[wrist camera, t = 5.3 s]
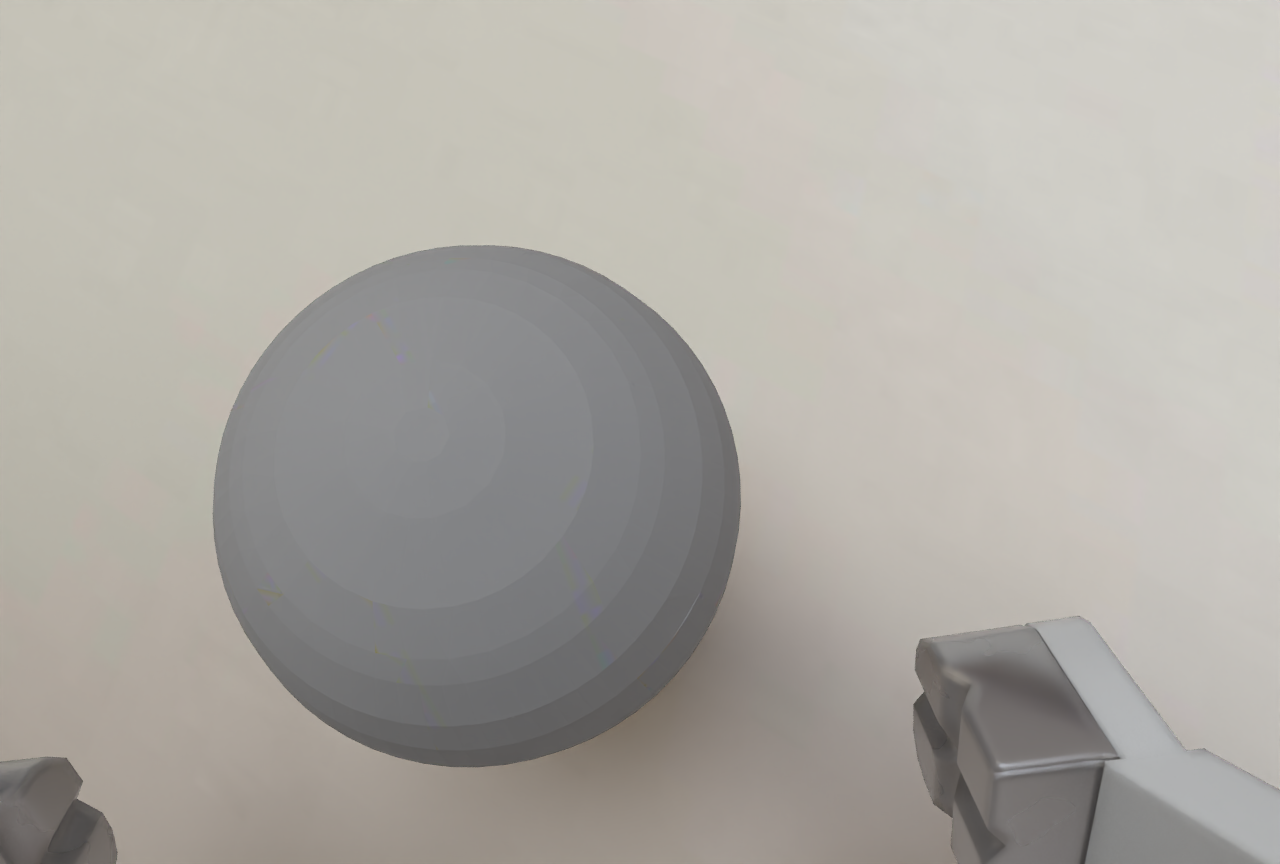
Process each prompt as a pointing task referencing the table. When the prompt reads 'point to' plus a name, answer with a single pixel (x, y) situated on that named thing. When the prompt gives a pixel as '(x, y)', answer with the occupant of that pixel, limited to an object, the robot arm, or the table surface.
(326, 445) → the light bulb
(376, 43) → the table surface
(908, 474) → the table surface
